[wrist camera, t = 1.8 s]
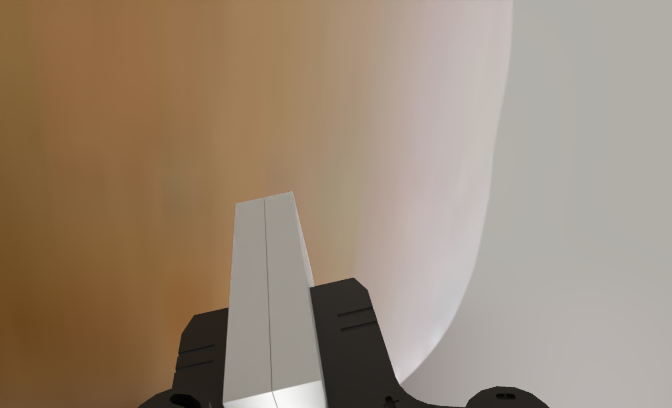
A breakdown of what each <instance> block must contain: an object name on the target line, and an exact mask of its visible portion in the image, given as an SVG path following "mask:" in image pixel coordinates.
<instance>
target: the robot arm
mask: <svg viewBox="0 0 672 408" xmlns="http://www.w3.org/2000/svg"><path fill="white" fill-rule="evenodd" d="M178 353H179V356H178V358H177V363H176V373H175V374H174V380H173V385H172V389H169V390H166V391H164V392H161V393H159V394H156V395H154V396H153V397H151V398H150V399H149V400H147V401H146V402H144V403H143V404H141V405H140V406H139V407H138V408H549V407H548V406H547V405H546V404H545V403H544V402H542V401H541V400H540V399H538V398H537V397H536V396H534V395H533V394H531V393H529V392H526V391H523V390H521V389H518V388H515V387H499V386H496V387H493V388H489V389H485V390H482V391H480V392H479V393H477V394H476V395H475V396H473V397H472V398H471V399H470V400H469V401H468V403H467V405H466V407H449V406H438V405H432V404H427V403H424V402H422V401H419V400H416V399H415V398H413V397H412V396H410V395H409V394H407V393H406V392H405V391H404V389H403V388H402V387H401V386H400V385H399V383H398V381H397V379H396V377H395V374H394V371H393V368H392V365H391V362H390V359H389V356H388V352H387V349H386V346H385V343H384V340H383V337H382V334H381V331H380V327H379V324H378V322H377V318H376V315H375V312H374V310H373V306H372V303H371V299H370V296H369V293H368V290H367V289H366V288H365V287H364V286H362V285H361V284H360V283H359V282H358V281H357V280H356V279H355V278H350V279H345V280H341V281H337V282H332V283H328V284H323V285H319V286H315V287H314V282H313V276H312V271H311V267H310V263H309V258H308V254H307V250H306V246H305V242H304V237H303V233H302V229H301V225H300V221H299V216H298V212H297V208H296V204H295V200H294V195H293V191H291V192H287V193H282V194H278V195H273V196H268V197H265V199H264V198H259V199H255V200H250V201H245V202H241V203H236V209H235V224H234V239H233V254H232V269H231V284H230V299H229V308H224V309H220V310H215V311H211V312H207V313H202V314H198V315H194V316H193V318H192V319H191V321H190V322H189V324H188V325H187V327H186V328H185V330H184V331H183V333H182V335H181V341H180V346H179V352H178Z"/></svg>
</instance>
